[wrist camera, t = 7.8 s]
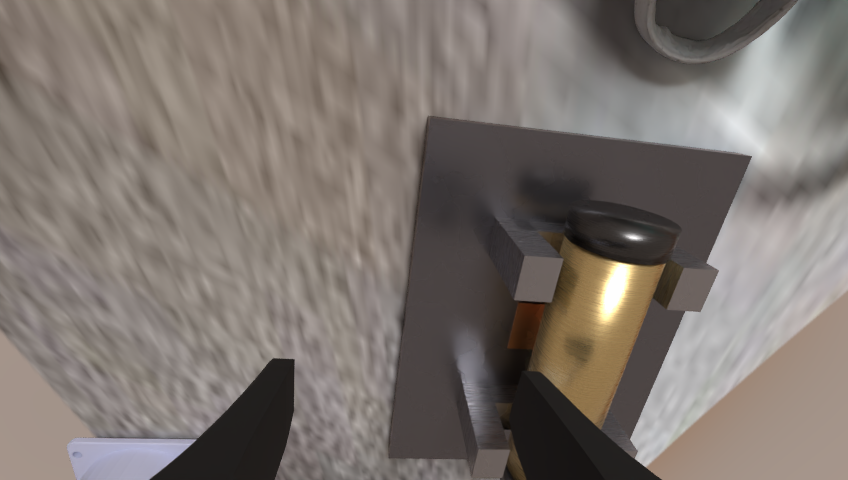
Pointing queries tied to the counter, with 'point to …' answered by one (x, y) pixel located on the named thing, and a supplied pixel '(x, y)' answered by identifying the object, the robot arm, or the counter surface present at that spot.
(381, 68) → the counter surface
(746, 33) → the ceramic mug
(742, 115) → the counter surface
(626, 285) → the brass tube
